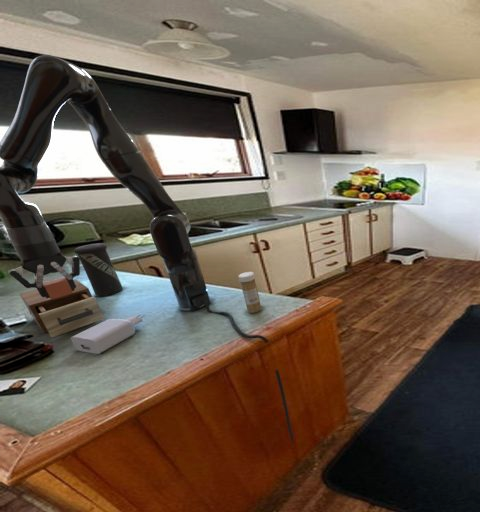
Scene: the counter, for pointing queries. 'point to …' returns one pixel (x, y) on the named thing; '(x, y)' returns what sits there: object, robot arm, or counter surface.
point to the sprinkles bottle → (250, 292)
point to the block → (57, 288)
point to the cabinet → (47, 301)
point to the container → (99, 269)
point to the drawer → (69, 313)
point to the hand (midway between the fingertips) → (60, 293)
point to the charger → (105, 334)
